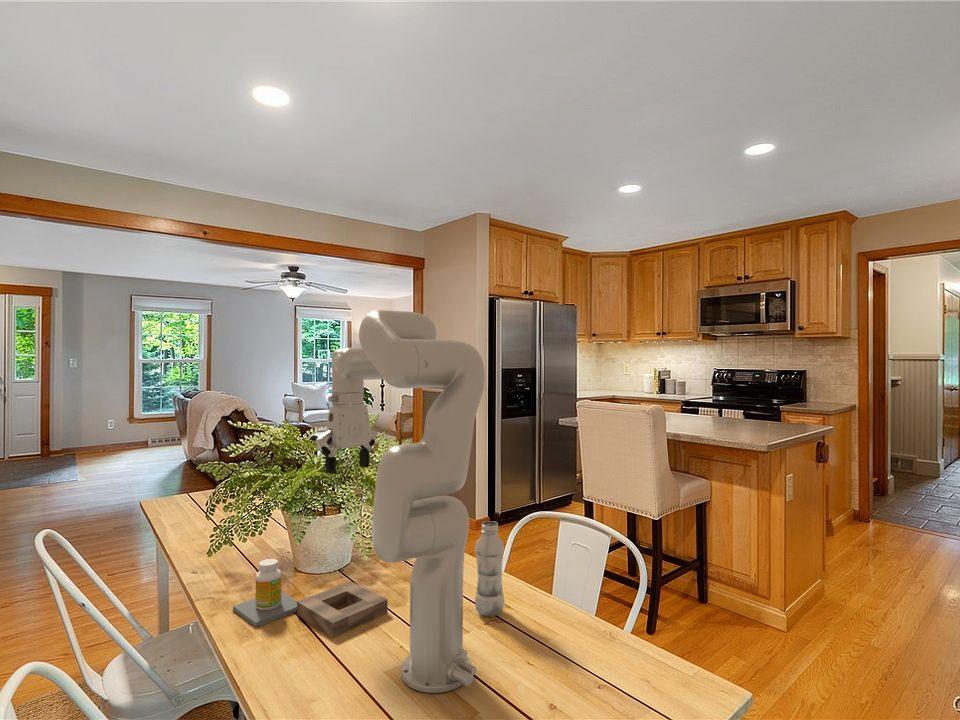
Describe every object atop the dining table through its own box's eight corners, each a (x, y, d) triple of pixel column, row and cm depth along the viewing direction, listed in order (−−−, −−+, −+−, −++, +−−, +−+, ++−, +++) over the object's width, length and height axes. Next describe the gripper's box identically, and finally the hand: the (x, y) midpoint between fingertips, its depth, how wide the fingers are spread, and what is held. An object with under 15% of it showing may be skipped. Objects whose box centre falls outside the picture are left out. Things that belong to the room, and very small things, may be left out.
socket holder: (387, 612, 117) (387, 599, 117) (332, 637, 107) (332, 623, 107) (350, 593, 127) (350, 581, 127) (296, 615, 116) (296, 601, 116)
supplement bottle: (272, 612, 115) (272, 567, 115) (250, 609, 116) (250, 565, 116) (286, 600, 121) (286, 558, 120) (265, 598, 122) (264, 556, 122)
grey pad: (303, 608, 119) (303, 604, 119) (255, 627, 111) (255, 622, 111) (279, 594, 126) (279, 589, 126) (232, 610, 118) (232, 606, 118)
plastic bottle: (510, 612, 117) (510, 523, 117) (490, 624, 113) (490, 530, 112) (488, 603, 122) (489, 517, 122) (468, 613, 117) (468, 523, 117)
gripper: (326, 402, 120) (326, 478, 120) (385, 398, 133) (385, 466, 133) (307, 401, 124) (307, 473, 124) (366, 397, 138) (366, 462, 138)
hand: (347, 469), depth 129 cm, fingers open, 9 cm apart
